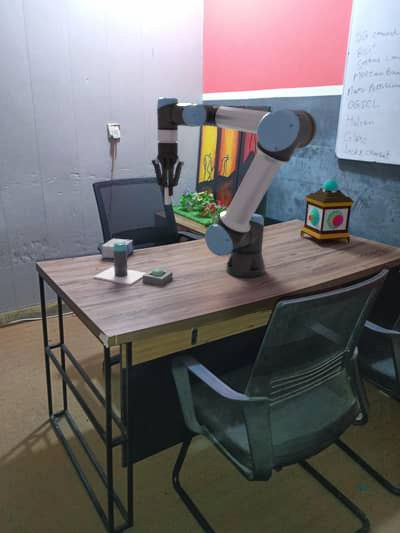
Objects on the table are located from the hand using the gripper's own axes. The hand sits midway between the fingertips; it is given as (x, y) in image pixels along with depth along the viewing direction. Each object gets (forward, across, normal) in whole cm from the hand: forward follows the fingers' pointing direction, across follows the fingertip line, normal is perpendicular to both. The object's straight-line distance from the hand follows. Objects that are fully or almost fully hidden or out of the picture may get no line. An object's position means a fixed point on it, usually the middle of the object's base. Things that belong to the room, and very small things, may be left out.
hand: (167, 204), depth 170 cm
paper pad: (+24, +9, +22) cm, 34 cm away
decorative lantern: (+25, -54, -65) cm, 88 cm away
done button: (+24, -5, +19) cm, 31 cm away
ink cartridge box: (+22, +23, +6) cm, 32 cm away
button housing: (+24, -5, +19) cm, 31 cm away
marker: (+24, +9, +22) cm, 33 cm away
